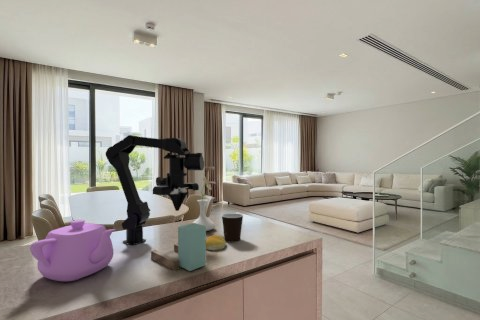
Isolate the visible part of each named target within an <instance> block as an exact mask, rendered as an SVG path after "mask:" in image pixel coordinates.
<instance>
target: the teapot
mask: <svg viewBox="0 0 480 320" xmlns="http://www.w3.org/2000/svg"><path fill="white" fill-rule="evenodd" d="M69 224H70V225H67V226H62V227H59V228H56V229H53V230H50V231H49V232H48V233H47V234H46V237H45V239H40V240H36V241H34V242H32V243H31V245H30V247H29V251H30V253H31V255H32V257H33V258H34V259H35V260H37V270H38V272H39V273H40V274H41V276H43V277H44V278H46V279H49V280H52V281H56V282H57V281H58V282H75V281H78V280H80V279H82V278H85V277H88V276H91V275H92V274H95V273H97V272H99V271H101V270H102V269H105V267H107V266H109V264H110V262H112V260H113V258H114V245H113V242H112V238H111V235H112V234H113V233H114V232H115V231H116V228H112V229H107V228H106V226H105V225H104V224H99V223H92V222H86V220H84V219H75V220H72V221H70V223H69Z"/></svg>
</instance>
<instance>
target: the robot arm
mask: <svg viewBox="0 0 480 320" xmlns="http://www.w3.org/2000/svg"><path fill="white" fill-rule="evenodd" d="M138 146H139V147H147V148H155V149H161V150H163V151H165V152H167V154H166V155H164V157H163V159H164V160H168V163H169V164H168V165H169V167H168V168H169V169H168V171H169V172H166V177H163V176H157V177H156V178H155V186H154V187H153V188H152V195H157V196H168V197H169V198H170V200H171V202H172V204H173V205H172V206H173V208H174V210H175V211H176V212H179V211H180V209H181V207H182V205H183V203H184V202H185V201H184V200H185V198H186V197H187V195H189V191H187V190H192V191H194V192H195V191H199V189H200V188H199V184H198V182H185V177H186V176H187V175H188V173H187V172H185V169H186V170H187V171H203V170H204V168H205V159H204V157H203V152H195V153H191V151H190V149H188V147H187V144H186V141H185V140H184V139H183V138H177V137H165V138H154V137H153V138H152V137H146V136H145V137H144V136H137V135H133V134H129V135H127V136H125V137H124V138H123V139H121V140H119V141H118V142H116V143H114V144H113V145H112V146H109V147H108V148H107V149H106V151H105V156H106V159H107V161H108V162H109V164H110V165H111V166H112V168H114V169H115V171H116V174H117V177H118V179H119V183H120V185H121V188H122V192H123V194H124V196H125V200H126V202H127V206H126V216H127V218H126V219H125V220H124V221H123V222H121V228H122V229H123V230H125V231H126V232H125V234H126V237H125V238H126V239H125V240H122V243H124V244H126V245H130V246H134V245H137V244H138V245H139V244H140V243H141V244H142V243H144V242H147V239H146V238H144V231H143V229H144V226H143V225H145V224H146V222H147V220H148V219H149V218H150V215H151V213H150V211H151V209H150V208H149V204H148V201H143V200H142V199H141V197H140V195H139V192H138V189H137V186H136V184H135V181H134V178H133V175H132V172H131V169H130V166H129V165H130V154H131V153H133V152H134V150H135V148H136V147H138ZM181 156H184V157H181Z"/></svg>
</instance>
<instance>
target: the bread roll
mask: <svg viewBox="0 0 480 320" xmlns="http://www.w3.org/2000/svg"><path fill="white" fill-rule="evenodd" d="M226 245H227V242H226V241H225V239H224V236H221V235H218V234H213V235H210V236H208V237H206V251H207V250H208V251H220V250H222V249H225V247H226Z"/></svg>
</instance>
